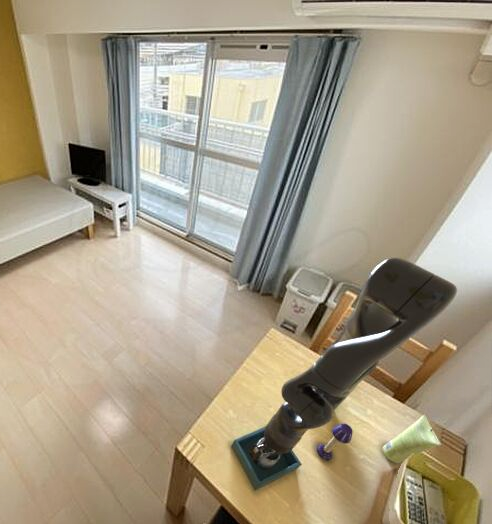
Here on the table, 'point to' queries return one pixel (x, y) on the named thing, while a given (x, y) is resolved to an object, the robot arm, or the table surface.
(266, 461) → the camera lens
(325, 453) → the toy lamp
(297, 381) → the robot arm
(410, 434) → the tube
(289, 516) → the table surface
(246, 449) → the crate
